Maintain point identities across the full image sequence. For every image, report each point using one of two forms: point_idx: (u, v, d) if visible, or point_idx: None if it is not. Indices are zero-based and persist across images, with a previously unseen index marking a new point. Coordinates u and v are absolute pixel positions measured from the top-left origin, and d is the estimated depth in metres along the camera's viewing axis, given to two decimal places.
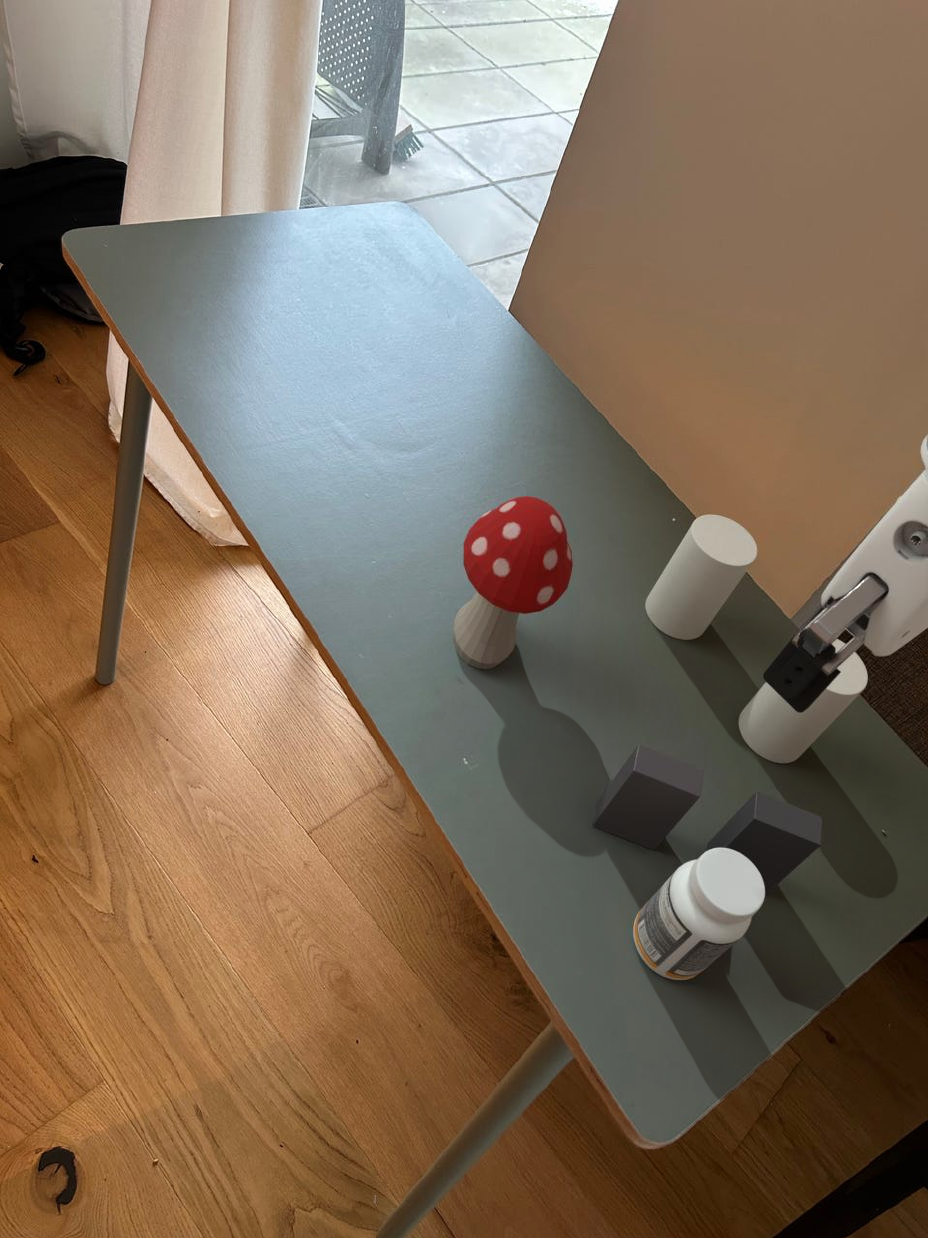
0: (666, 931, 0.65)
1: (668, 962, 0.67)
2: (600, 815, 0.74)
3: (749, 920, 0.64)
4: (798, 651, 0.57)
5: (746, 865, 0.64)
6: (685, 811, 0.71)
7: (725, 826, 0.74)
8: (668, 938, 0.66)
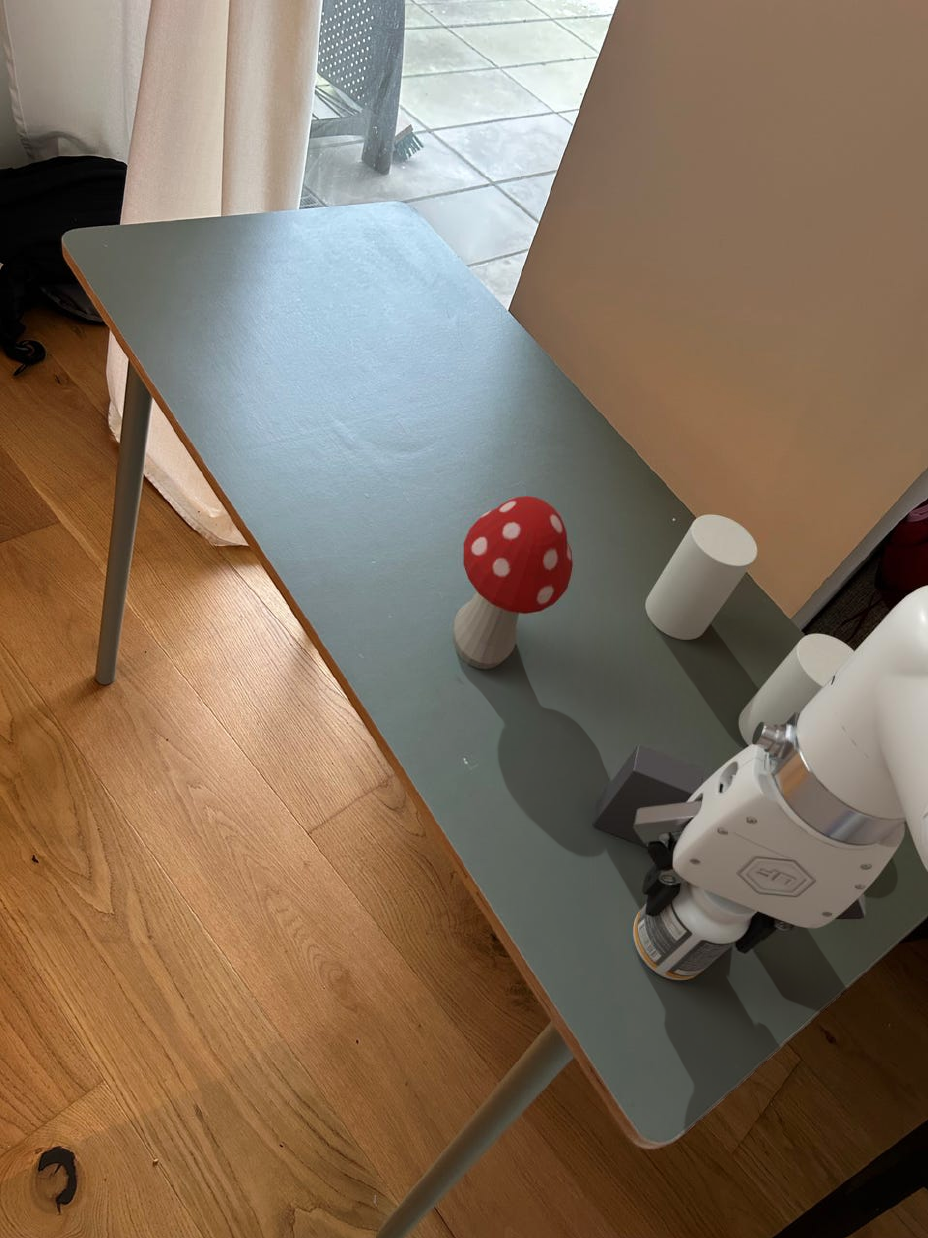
0: (666, 931, 0.65)
1: (668, 962, 0.67)
2: (600, 815, 0.74)
3: (749, 920, 0.64)
4: None
5: None
6: None
7: None
8: (668, 938, 0.65)
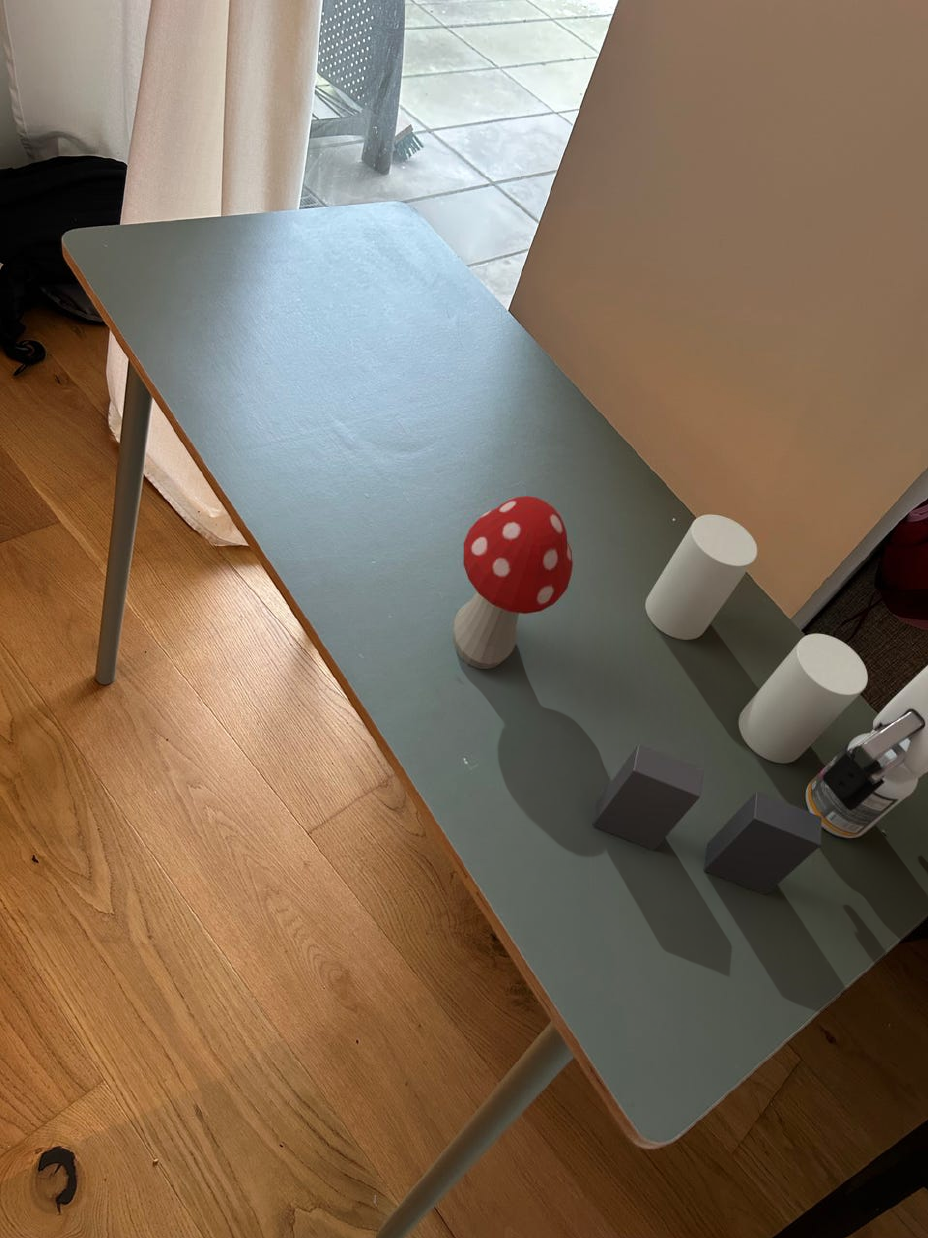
0: (869, 809, 0.77)
1: (869, 826, 0.79)
2: (600, 815, 0.74)
3: None
4: (851, 762, 0.72)
5: None
6: (685, 811, 0.71)
7: (725, 826, 0.74)
8: (873, 813, 0.77)
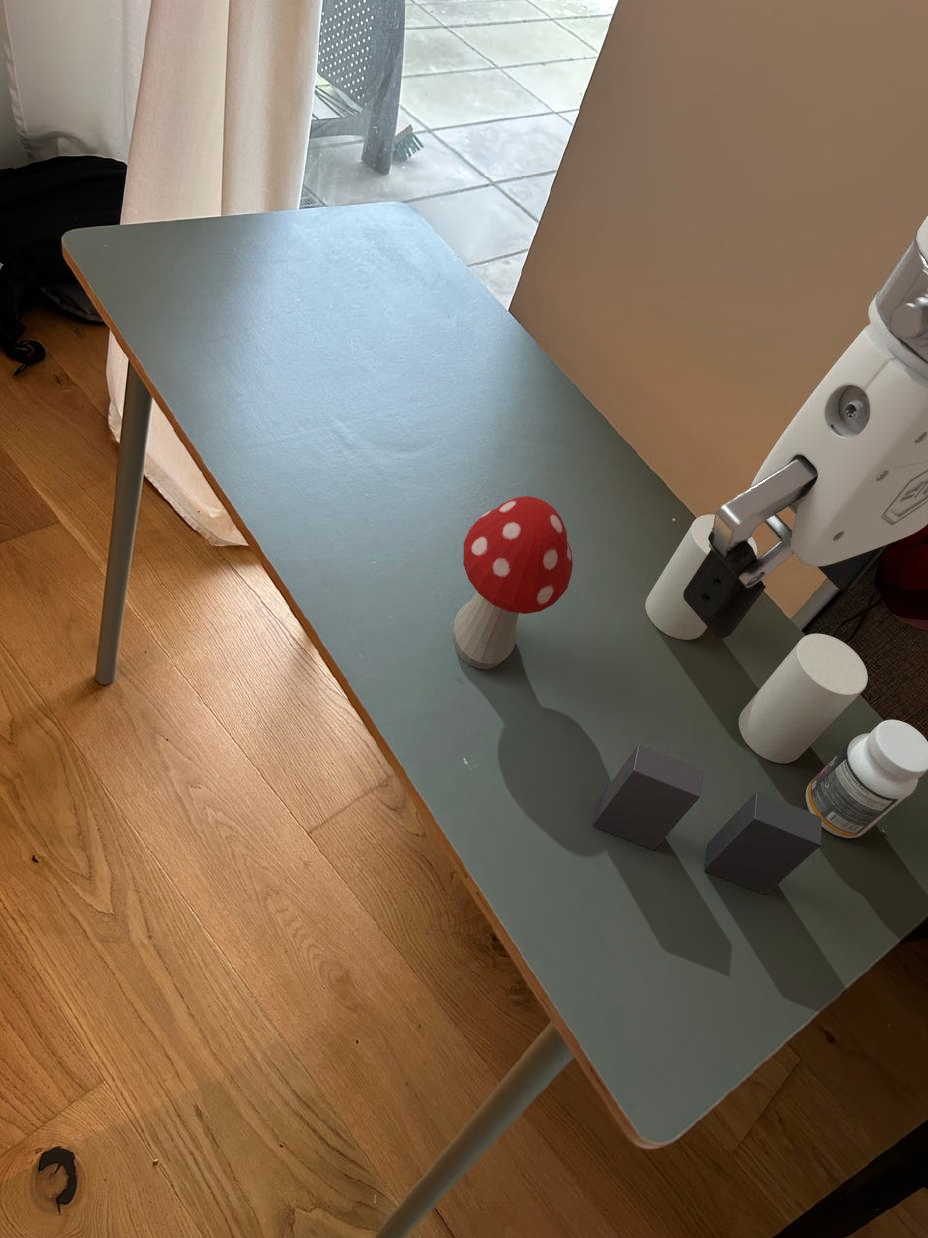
0: (869, 809, 0.77)
1: (869, 826, 0.79)
2: (600, 815, 0.74)
3: None
4: (717, 558, 0.47)
5: (897, 725, 0.76)
6: (685, 811, 0.71)
7: (725, 826, 0.74)
8: (873, 813, 0.77)
